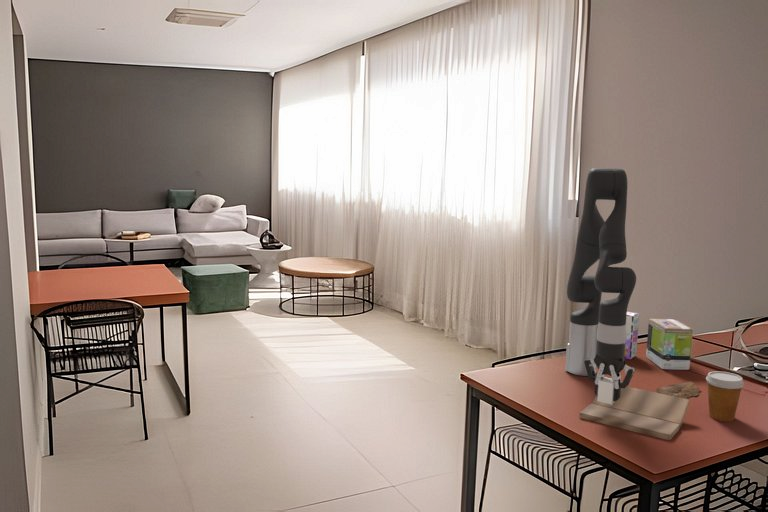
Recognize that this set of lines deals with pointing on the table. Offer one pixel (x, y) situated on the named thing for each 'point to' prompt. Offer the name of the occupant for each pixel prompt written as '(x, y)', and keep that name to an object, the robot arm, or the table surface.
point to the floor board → (630, 421)
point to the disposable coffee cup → (723, 394)
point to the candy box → (631, 335)
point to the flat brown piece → (680, 390)
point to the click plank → (650, 404)
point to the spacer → (606, 390)
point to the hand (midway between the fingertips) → (607, 398)
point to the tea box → (669, 344)
